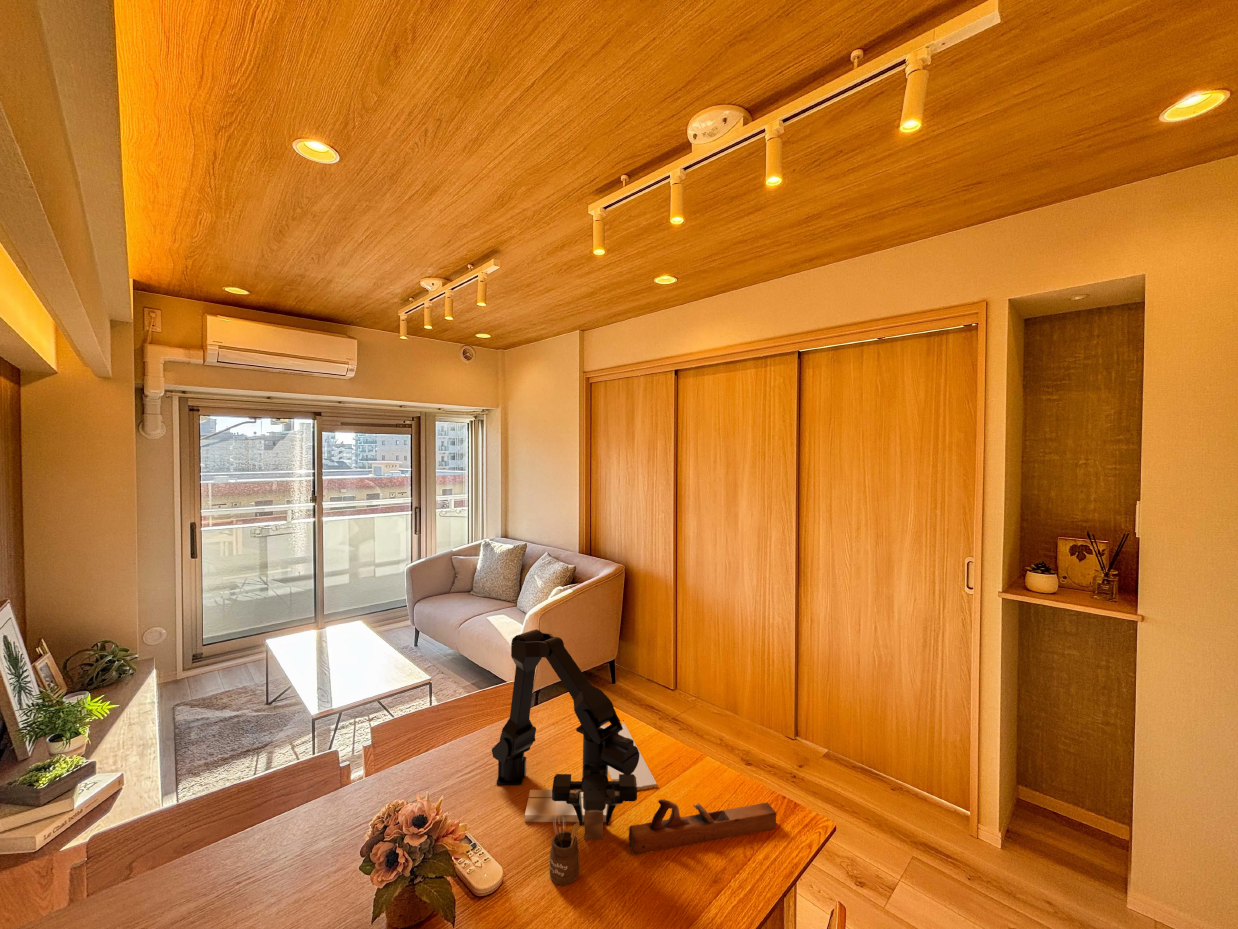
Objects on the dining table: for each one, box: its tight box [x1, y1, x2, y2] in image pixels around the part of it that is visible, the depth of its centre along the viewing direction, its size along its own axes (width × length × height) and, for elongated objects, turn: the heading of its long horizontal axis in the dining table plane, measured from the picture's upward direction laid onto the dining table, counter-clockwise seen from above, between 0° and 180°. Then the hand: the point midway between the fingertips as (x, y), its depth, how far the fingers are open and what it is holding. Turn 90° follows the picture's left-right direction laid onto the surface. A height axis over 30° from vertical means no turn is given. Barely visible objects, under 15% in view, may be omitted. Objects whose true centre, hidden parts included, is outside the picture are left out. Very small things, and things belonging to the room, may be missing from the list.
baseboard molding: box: [601, 719, 658, 791], centre depth 146 cm, size 31×3×12 cm
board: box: [524, 789, 607, 823], centre depth 124 cm, size 19×9×2 cm, turn 92°
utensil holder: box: [549, 814, 580, 886], centre depth 105 cm, size 6×6×12 cm
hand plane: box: [628, 798, 777, 856], centre depth 116 cm, size 34×5×10 cm, turn 107°
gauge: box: [583, 810, 604, 841], centre depth 121 cm, size 4×13×6 cm, turn 4°
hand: (594, 824), depth 117 cm, fingers open, 5 cm apart
